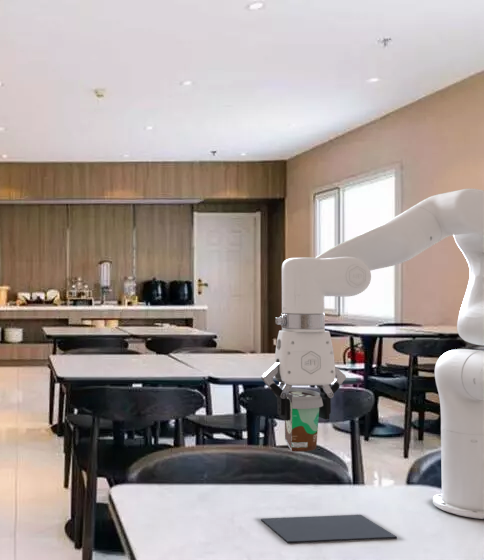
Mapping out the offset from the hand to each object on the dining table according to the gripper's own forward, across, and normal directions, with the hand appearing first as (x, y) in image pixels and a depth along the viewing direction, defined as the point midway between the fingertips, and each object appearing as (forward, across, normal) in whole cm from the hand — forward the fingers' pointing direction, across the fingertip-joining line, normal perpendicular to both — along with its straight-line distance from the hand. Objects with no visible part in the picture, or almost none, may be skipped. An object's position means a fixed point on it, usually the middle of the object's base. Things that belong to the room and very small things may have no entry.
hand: (304, 417), depth 116 cm
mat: (+19, +2, -3) cm, 20 cm away
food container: (+5, 0, 0) cm, 5 cm away
